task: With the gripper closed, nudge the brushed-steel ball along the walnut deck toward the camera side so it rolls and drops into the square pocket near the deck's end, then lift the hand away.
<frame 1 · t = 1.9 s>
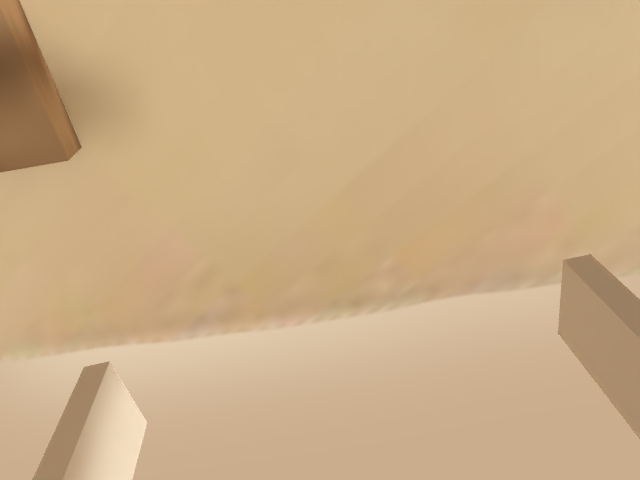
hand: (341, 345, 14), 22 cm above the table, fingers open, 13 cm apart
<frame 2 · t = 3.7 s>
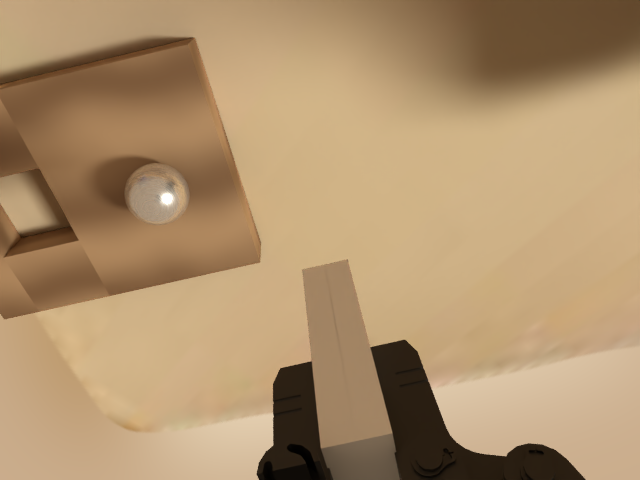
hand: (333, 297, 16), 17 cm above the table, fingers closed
ball: (163, 182, 29), point 2 cm above the table, touching deck
deck: (96, 183, 31), on the table
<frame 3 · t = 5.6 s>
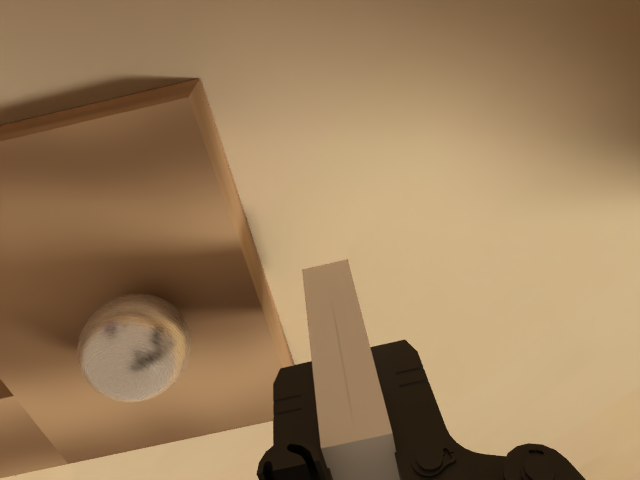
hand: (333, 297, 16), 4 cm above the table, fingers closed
ball: (148, 312, 17), point 2 cm above the table, touching deck
deck: (44, 300, 20), on the table
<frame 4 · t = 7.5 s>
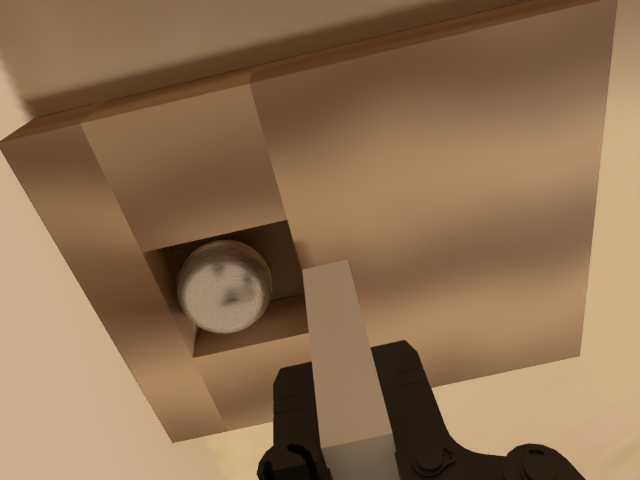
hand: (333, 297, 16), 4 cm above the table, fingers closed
ball: (218, 263, 19), resting in deck, tilted 14°
deck: (336, 235, 19), on the table
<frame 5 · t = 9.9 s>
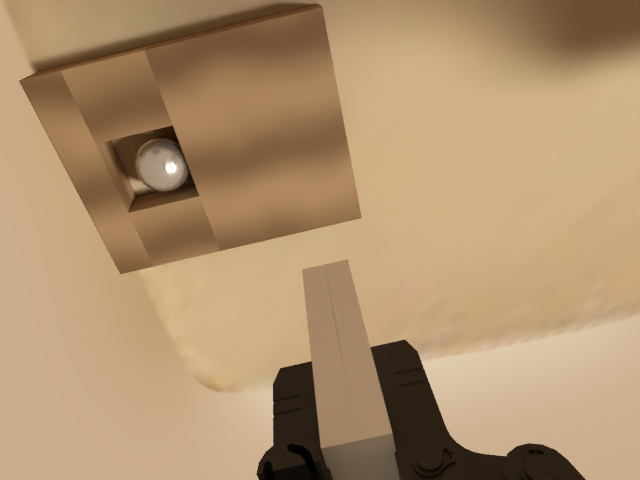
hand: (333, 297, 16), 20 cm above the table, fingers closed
ball: (145, 164, 33), point 1 cm above the table, tilted 54°
deck: (212, 144, 33), on the table
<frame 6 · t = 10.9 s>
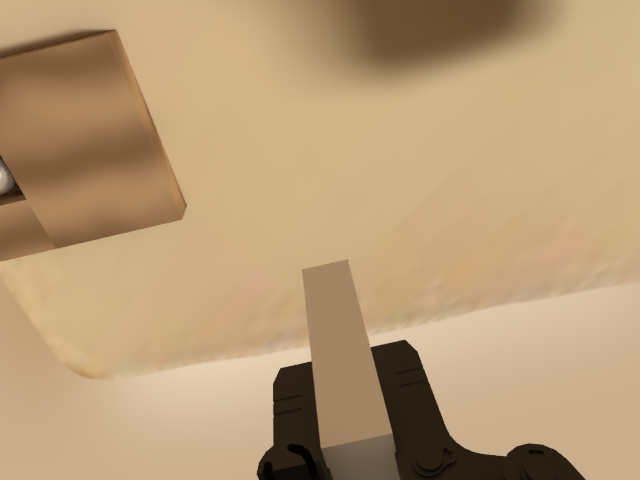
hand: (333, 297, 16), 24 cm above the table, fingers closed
deck: (42, 152, 37), on the table
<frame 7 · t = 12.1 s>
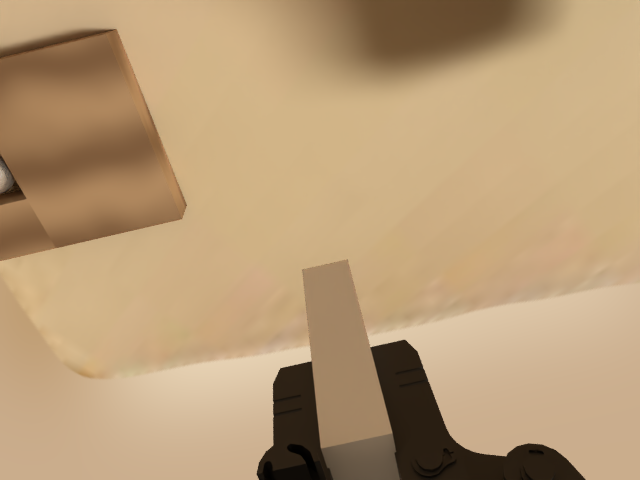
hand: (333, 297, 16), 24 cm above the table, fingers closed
deck: (42, 152, 37), on the table
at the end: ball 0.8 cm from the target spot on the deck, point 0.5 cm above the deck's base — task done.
